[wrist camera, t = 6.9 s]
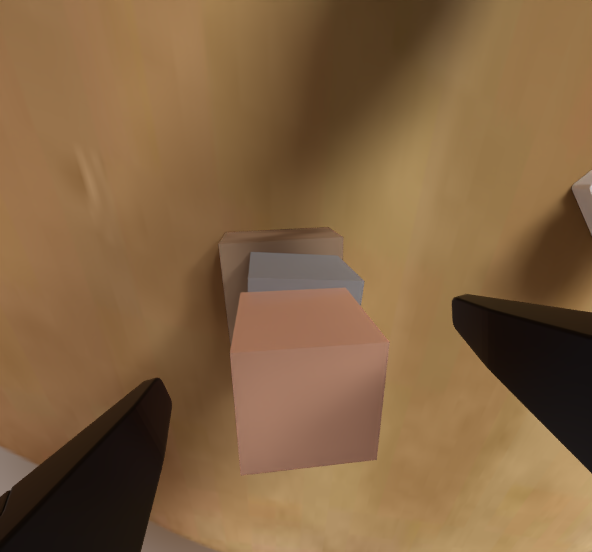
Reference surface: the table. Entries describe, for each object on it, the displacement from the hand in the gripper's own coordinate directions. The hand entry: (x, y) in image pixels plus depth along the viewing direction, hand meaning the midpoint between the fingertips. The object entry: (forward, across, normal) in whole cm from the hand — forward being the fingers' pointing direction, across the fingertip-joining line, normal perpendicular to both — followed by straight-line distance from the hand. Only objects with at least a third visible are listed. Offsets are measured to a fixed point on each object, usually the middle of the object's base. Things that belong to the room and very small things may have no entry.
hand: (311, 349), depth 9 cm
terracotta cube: (+4, 0, +2) cm, 4 cm away
